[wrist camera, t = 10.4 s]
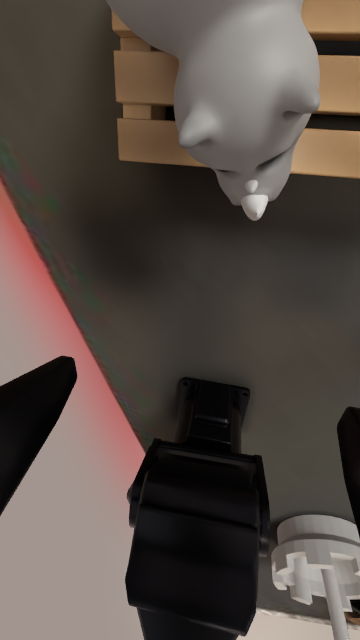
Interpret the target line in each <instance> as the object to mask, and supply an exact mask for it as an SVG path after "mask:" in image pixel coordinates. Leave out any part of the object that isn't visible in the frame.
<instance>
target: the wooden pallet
mask: <svg viewBox="0 0 360 640" xmlns="http://www.w3.org/2000/svg"><path fill="white" fill-rule="evenodd" d="M111 11H112V29H113V31H114V32H115V33H116V34H117V35H119V36H120V45H121V50H115V51H114V71H115V90H116V101H117V102H119V103H121V104H123V118H117V128H118V148H119V160H121V161H133V162H146V163H159V164H172V165H185V166H199V167H208V166H205V165H204V164H202V163H200V162H198V161H197V160H195V159H194V158H192V157H191V156H190V154H189V153H188V152H187V150H186V149H184V148H182V147H180V145H179V143H178V135H179V133H178V130H177V126H176V121H168V120H165V118H166V106H168V107H174V89H175V82H176V77H177V73H178V69H179V59H178V58H177V57H174V56H172V55H170V54H168V53H166V52H164V51H162V50H159V49H157V48H155V47H153V46H151V45H150V44H148V43H147V42H145V41H144V40H142V39H141V38H140V37H138V36H137V35H136V34H135V33H134V32H132V31H131V30H130V29H129V28H128V27H127V26H126V25H125V24H124V23H123V22H122V21H121V19H120V18H119V17H118V16H117V15H116V14H115V13H114V11H113V10H112V9H111ZM301 17H302V21H303V23H304V25H305V27H306V29H307V31H308V32H309V34H310V36H311V37H312V39H313V40H323V41H360V0H304V1H303V5H302V10H301ZM318 58H319V67H320V82H319V90H318V91H319V94H320V106H319V108H318V110H317V111H316V112H314V113H312V114H329V115H349V116H360V56H340V55H318ZM290 174H303V175H316V176H329V177H342V178H355V179H360V131H346V130H328V129H310V128H304V130H303V132H302V134H301V136H300V138H299V140H298V142H297V144H296V146H295V148H294V151H293V158H292V166H291V171H290Z"/></svg>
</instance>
